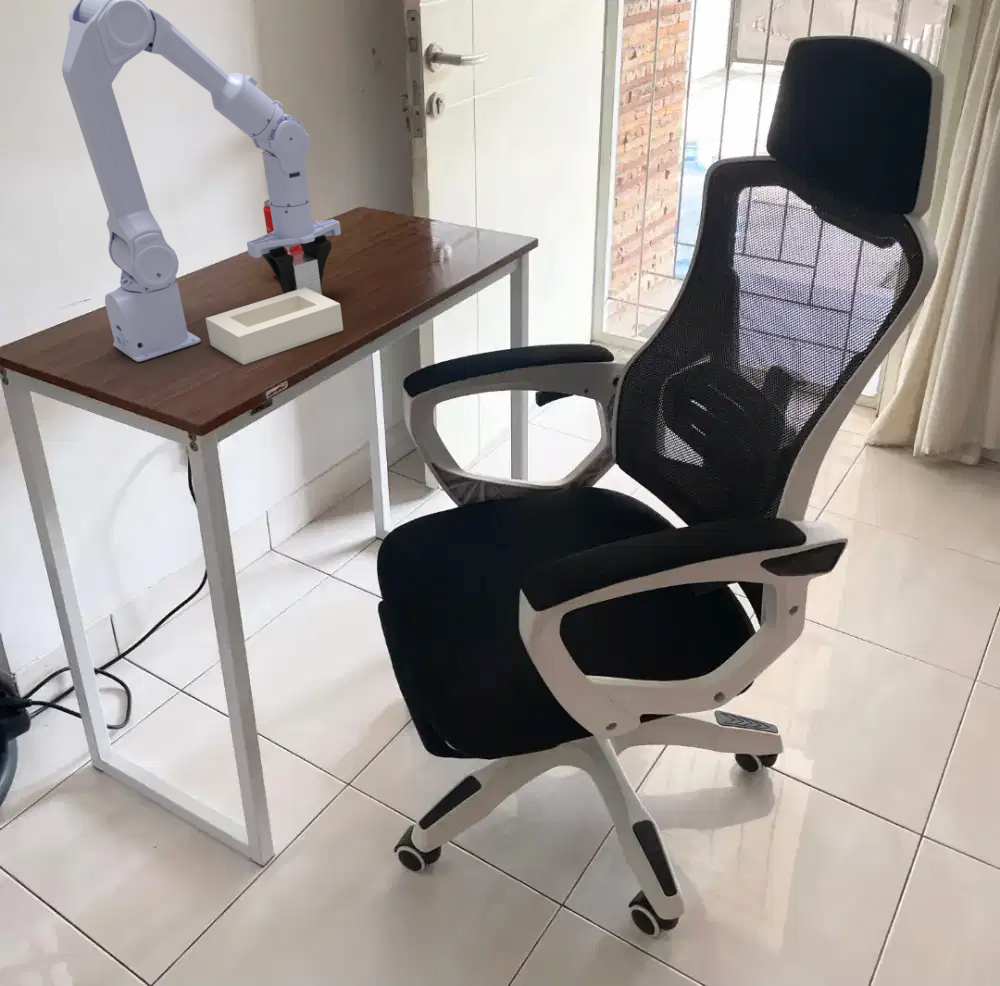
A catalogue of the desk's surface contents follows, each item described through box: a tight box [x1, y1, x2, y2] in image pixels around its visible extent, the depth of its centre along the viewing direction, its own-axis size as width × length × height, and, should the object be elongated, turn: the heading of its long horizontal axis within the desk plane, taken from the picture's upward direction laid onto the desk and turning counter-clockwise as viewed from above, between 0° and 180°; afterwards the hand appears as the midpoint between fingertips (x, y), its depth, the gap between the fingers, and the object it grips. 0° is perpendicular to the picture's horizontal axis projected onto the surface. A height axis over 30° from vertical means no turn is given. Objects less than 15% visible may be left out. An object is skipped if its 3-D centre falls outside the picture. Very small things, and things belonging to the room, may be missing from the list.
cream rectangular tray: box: [205, 287, 344, 366], centre depth 140 cm, size 16×9×4 cm, turn 132°
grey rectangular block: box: [293, 253, 323, 295], centre depth 149 cm, size 4×4×7 cm
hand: (302, 292), depth 150 cm, fingers open, 4 cm apart
